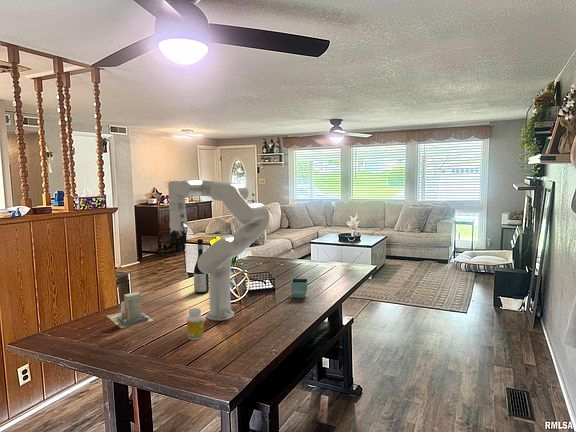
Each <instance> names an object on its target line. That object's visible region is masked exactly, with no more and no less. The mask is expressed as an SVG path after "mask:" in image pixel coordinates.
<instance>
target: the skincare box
mask: <svg viewBox="0 0 576 432" xmlns="http://www.w3.org/2000/svg"><path fill="white" fill-rule="evenodd" d="M123 301H124V304H125V318H126V322H129V321H133V320H137V319H141V318H142V313H143V310H142V309H143V308H142V306H143V305H142V296H141V293H140V292H138V291H134V292H130V293H126V294H124V295H123Z"/></svg>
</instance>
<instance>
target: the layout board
mask: <svg viewBox="0 0 576 432" xmlns="http://www.w3.org/2000/svg"><path fill="white" fill-rule="evenodd" d="M106 317H107V318H108V319H109V320H110V321H112V322H113V324H115V325H116V326H118V327H119V328H120V329H123V328H127V327H132V326H136V325H140V324H144V323H148V322H152V321H153V319H152V318H151V317H149V316H148V315H146V314H145V313H144V312H142V318H141V319H137V320H133V321H129V322H126V318H125V315H124V316H122V311H121V312H118V313H117V312H115V313H112V314H109V315H108V314H107V315H106Z"/></svg>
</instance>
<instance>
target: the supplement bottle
mask: <svg viewBox="0 0 576 432" xmlns="http://www.w3.org/2000/svg"><path fill="white" fill-rule="evenodd" d="M186 321H187V322H186V325H187V338H188V339H189V340H195V341H196V340H200V339H203V338H204V334H205V333H204V316H203V315H202V311H201V308H199V307H196V308H195V307H193V308H190V309H188V316H187V318H186Z"/></svg>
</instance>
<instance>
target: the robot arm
mask: <svg viewBox="0 0 576 432" xmlns="http://www.w3.org/2000/svg"><path fill="white" fill-rule="evenodd" d="M167 183H168V185H167V186H168V188H167V189H168V209H169V210H168V211H169V223H168V225H169V234H170V242H177V241H178V233H179V244H180V245H186V244H187V241H188V240H187V239H188V238H187V235H188V217H187V210H186V198H188V197H189V198H190V197H209V198H211V199H212V200H213V201H218V202H219V201H220V202H223V204H224V205H225V207H226V208H227V210H229V212H230V213H231V214H232V215H233V216H234V218H235V219H236V221H238V222H239V223H240V224H243V225H242V226H241V227H240V228H238V229H237V230H236V231H235V232H234V233H233V234H231V235H229V236H225V237H222V238H219V239H218V240H215V242H213V243H212V244H211V245H210V246H209V247H208V248H207V249H206V250H205V251H203V253H202V254H201V256H200V257H199V259H198V258H197V259H198V268H199V270H200V271H201V272H203V273H205V274H208V275H209V291H208V295H209V296H208V297H209V312H208V311H207V313H206V318H207V319H208V320H210V321H215V322H216V321H217V322H218V321H219V322H220V321H227V320H230V319H232V318H234V316H235V312H234V311H233V310H232V306H231V305H232V304H231V268H232V259H234V258H236V257H237V256H240V255H241V254H242V253H243V252H244V251H245V250H247V248H249V247H250V246H251V245H252V244H253V243H254V242H255V241H256V240H257V239H259V238H260V237H261V236H262V235H263V234H264V233H265V231H266V230H267V227H268V226H269V222H270V212H269V209H268V207H267V206H266V205H265V204H263V203H262V202H261V203H260V202H250V203H248V202H247V199H248V198H249V195H250V194H249V188H248V186H246V185H244V184H242V183H237V182H225V181H213V180H203V179H202V180H201V179H194V180H193V179H190V180H189V179H188V180H187V179H186V180H170V181H169V182H167Z"/></svg>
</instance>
